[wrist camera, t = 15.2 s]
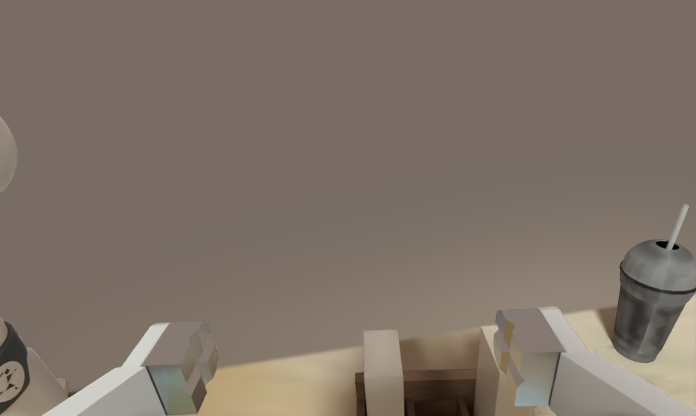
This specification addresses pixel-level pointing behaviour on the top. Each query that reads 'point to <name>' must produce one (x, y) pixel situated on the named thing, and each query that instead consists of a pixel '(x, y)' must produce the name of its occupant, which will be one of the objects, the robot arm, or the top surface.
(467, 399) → the wooden divided tray
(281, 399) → the top surface
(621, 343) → the beverage cup
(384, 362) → the clay strip
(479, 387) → the clay strip
